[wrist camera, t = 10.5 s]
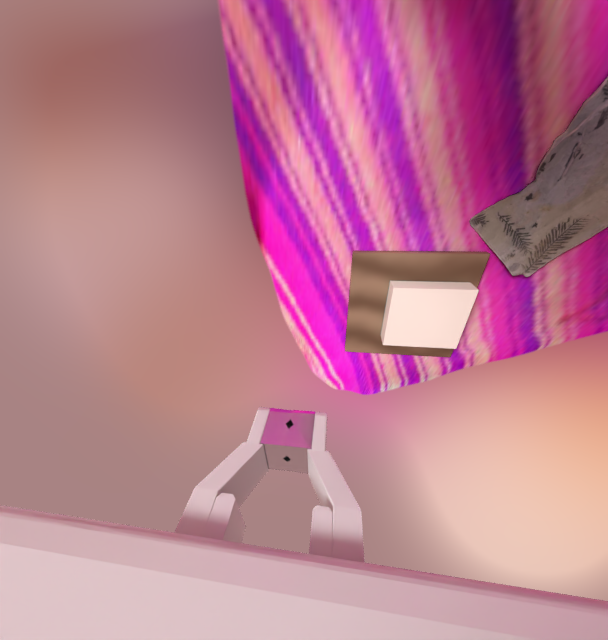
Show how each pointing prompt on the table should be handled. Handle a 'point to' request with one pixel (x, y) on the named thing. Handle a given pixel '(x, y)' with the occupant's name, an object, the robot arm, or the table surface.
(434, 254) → the walnut board
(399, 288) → the pale pink flat block
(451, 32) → the table surface
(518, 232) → the fossil rock
